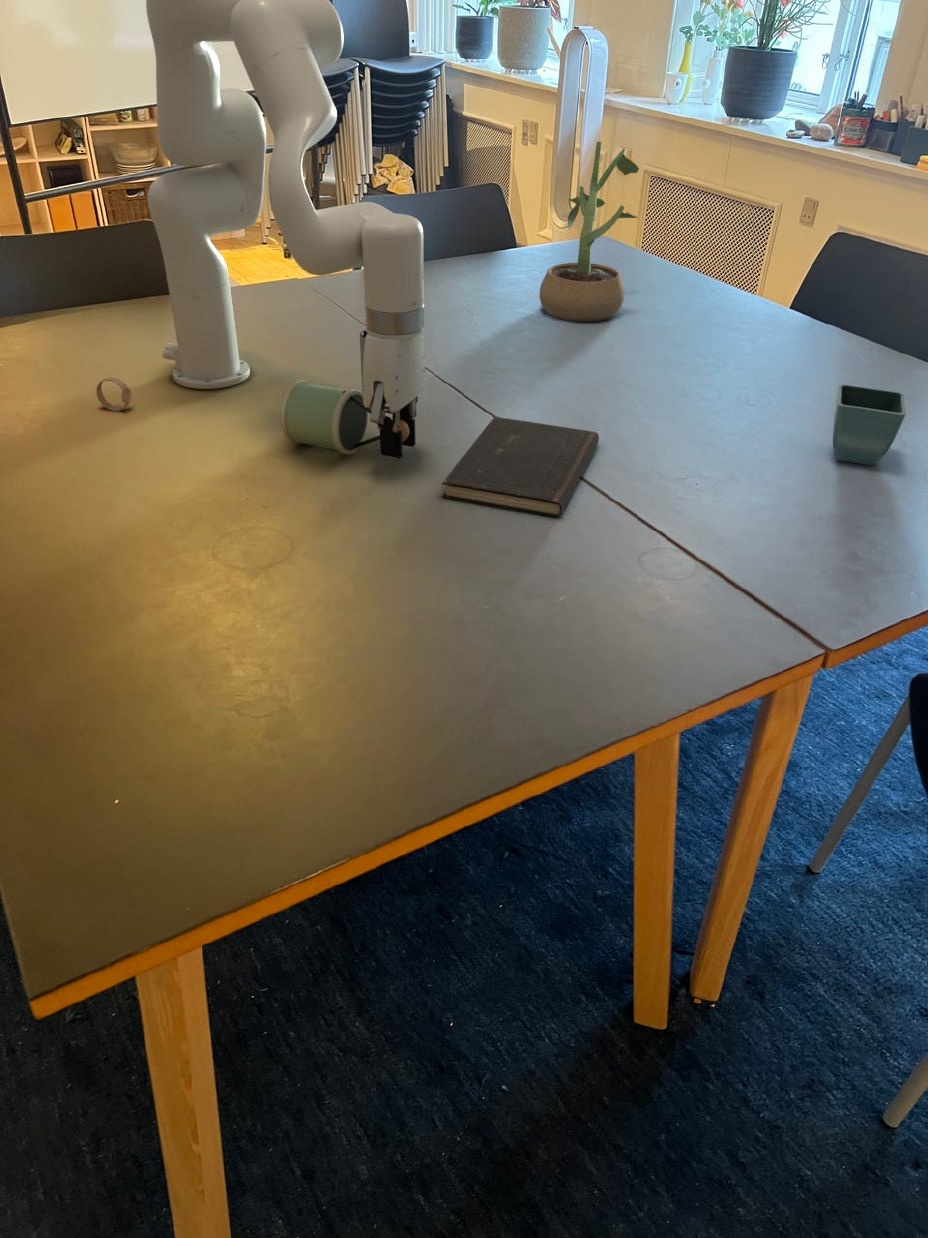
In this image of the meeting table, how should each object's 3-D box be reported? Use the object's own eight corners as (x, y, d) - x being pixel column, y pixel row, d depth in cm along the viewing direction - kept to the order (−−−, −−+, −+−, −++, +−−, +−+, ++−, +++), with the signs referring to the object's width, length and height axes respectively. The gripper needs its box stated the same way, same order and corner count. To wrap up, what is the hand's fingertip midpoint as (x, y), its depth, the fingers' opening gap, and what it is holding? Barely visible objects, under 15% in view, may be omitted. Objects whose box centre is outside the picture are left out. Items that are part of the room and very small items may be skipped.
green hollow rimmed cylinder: (284, 453, 135) (277, 392, 130) (316, 429, 142) (311, 371, 137) (394, 475, 129) (392, 413, 124) (422, 450, 136) (421, 390, 131)
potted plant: (623, 328, 183) (642, 157, 166) (531, 319, 187) (541, 152, 169) (633, 295, 201) (652, 138, 184) (549, 288, 205) (560, 133, 187)
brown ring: (126, 413, 146) (119, 382, 143) (97, 411, 146) (90, 379, 143) (134, 407, 148) (128, 376, 145) (106, 404, 148) (99, 373, 146)
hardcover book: (442, 497, 125) (442, 482, 124) (493, 430, 143) (494, 416, 141) (560, 518, 121) (561, 502, 120) (598, 446, 139) (599, 432, 137)
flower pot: (886, 449, 140) (904, 391, 135) (888, 474, 133) (906, 414, 128) (824, 440, 142) (839, 382, 137) (822, 464, 135) (838, 404, 130)
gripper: (397, 297, 129) (400, 424, 140) (337, 333, 117) (345, 468, 127) (447, 305, 127) (446, 433, 137) (391, 342, 114) (395, 479, 125)
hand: (398, 449), depth 132 cm, fingers closed on green hollow rimmed cylinder, 3 cm apart
